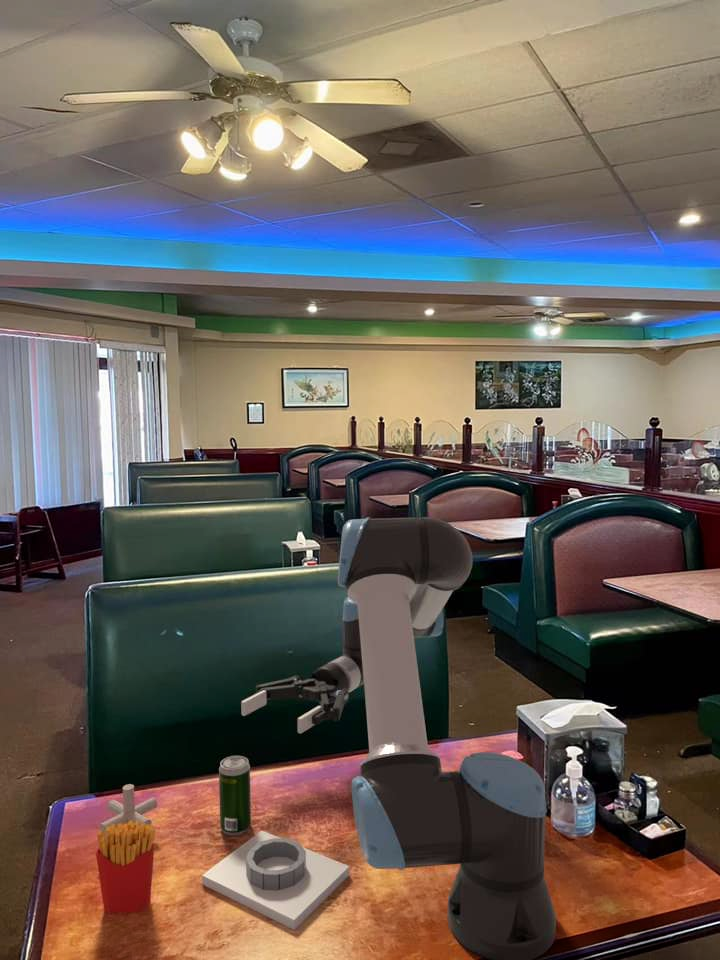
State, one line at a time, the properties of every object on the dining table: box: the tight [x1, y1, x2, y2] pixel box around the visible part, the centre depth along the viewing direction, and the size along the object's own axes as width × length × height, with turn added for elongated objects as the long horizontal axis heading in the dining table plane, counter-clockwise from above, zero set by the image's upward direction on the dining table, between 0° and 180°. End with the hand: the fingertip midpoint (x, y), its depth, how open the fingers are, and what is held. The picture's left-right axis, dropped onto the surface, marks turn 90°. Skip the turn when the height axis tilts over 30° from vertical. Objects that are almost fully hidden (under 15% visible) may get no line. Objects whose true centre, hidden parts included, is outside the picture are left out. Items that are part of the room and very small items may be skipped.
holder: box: [201, 830, 350, 931], centre depth 109 cm, size 18×14×4 cm
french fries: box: [95, 820, 157, 914], centre depth 104 cm, size 8×4×12 cm, turn 93°
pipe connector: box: [99, 783, 158, 836], centre depth 119 cm, size 10×10×10 cm
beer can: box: [218, 755, 252, 837], centre depth 123 cm, size 5×5×12 cm
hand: (270, 717), depth 131 cm, fingers open, 13 cm apart
